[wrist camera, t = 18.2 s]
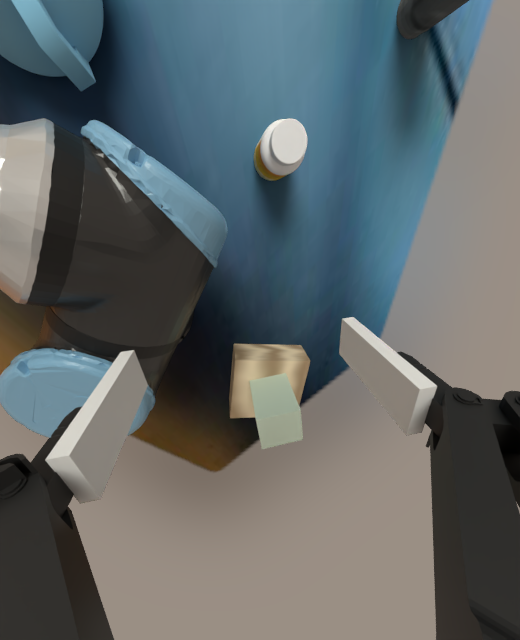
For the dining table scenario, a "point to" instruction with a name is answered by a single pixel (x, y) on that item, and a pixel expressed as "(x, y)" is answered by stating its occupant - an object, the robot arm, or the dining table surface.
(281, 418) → the sage block
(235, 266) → the dining table surface
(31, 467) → the robot arm
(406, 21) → the beverage cup
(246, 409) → the maple block
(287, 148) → the supplement bottle
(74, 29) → the teapot
